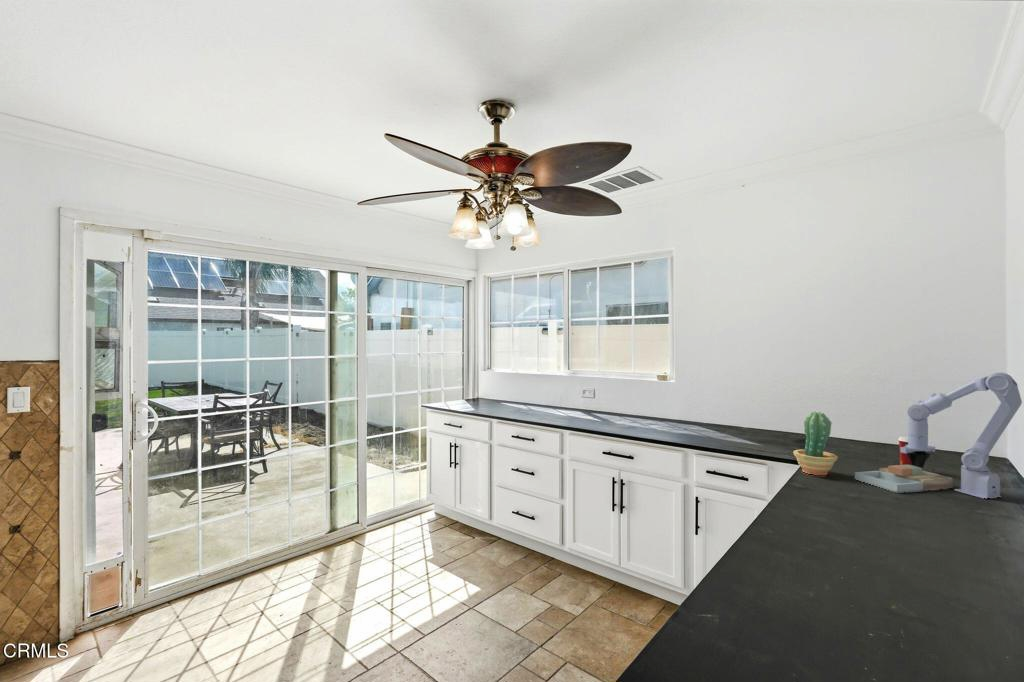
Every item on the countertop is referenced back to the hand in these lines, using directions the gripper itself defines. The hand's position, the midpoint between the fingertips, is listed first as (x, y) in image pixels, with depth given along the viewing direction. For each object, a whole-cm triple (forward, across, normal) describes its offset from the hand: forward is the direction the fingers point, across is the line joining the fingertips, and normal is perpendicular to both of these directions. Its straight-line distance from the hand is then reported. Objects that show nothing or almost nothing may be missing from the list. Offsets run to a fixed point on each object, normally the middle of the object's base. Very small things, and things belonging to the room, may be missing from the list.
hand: (917, 471), depth 179 cm
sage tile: (+1, +4, 0) cm, 4 cm away
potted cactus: (+5, +28, -19) cm, 34 cm away
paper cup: (+5, -15, -14) cm, 21 cm away
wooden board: (+5, +2, 0) cm, 5 cm away
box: (+5, +15, 0) cm, 15 cm away
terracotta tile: (+1, +9, 0) cm, 9 cm away
